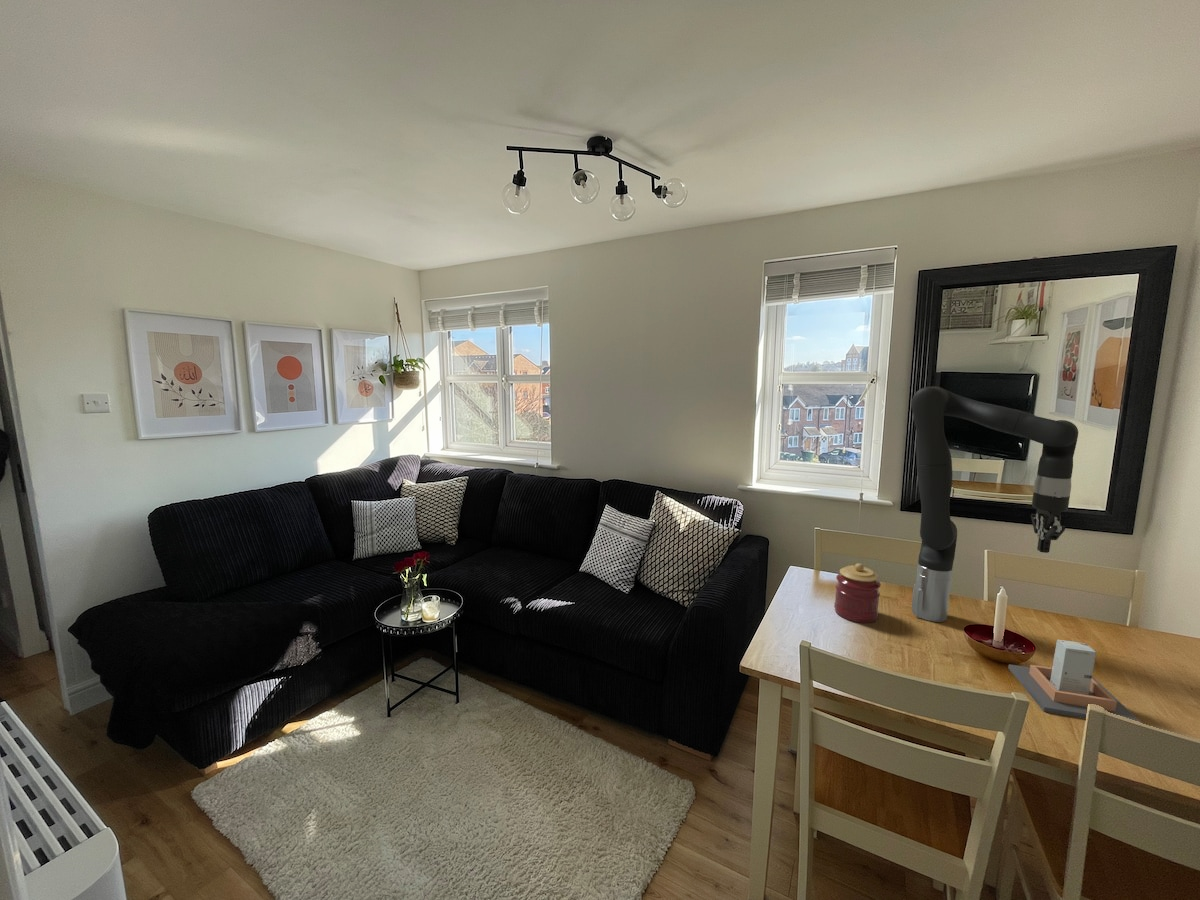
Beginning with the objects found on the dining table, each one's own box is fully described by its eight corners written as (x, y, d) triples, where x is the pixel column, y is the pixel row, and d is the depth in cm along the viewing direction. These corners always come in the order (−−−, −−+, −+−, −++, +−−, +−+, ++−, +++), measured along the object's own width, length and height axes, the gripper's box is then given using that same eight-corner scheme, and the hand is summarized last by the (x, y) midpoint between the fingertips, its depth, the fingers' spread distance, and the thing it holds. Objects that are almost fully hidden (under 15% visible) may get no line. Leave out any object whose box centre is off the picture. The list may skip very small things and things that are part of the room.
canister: (879, 610, 165) (883, 561, 162) (876, 627, 154) (881, 574, 151) (836, 601, 172) (840, 553, 169) (831, 617, 161) (835, 566, 158)
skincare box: (1058, 693, 121) (1065, 648, 119) (1048, 682, 125) (1055, 638, 123) (1090, 698, 119) (1097, 652, 117) (1078, 687, 123) (1086, 642, 121)
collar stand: (1043, 711, 116) (1045, 697, 115) (1008, 668, 133) (1009, 655, 132) (1141, 728, 110) (1144, 713, 110) (1091, 680, 127) (1093, 667, 127)
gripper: (1023, 486, 144) (1015, 542, 146) (1047, 497, 131) (1039, 558, 134) (1055, 487, 141) (1046, 545, 144) (1083, 499, 129) (1073, 561, 132)
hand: (1043, 551), depth 139 cm, fingers closed
